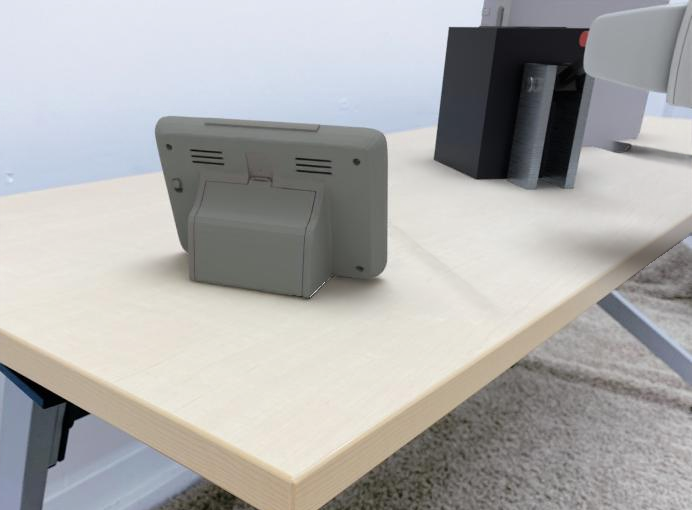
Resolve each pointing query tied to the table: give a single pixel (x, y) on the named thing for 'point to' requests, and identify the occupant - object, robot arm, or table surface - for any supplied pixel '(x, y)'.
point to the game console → (607, 98)
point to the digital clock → (276, 200)
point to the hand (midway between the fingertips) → (666, 43)
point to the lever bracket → (534, 124)
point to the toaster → (493, 92)
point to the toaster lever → (569, 75)
